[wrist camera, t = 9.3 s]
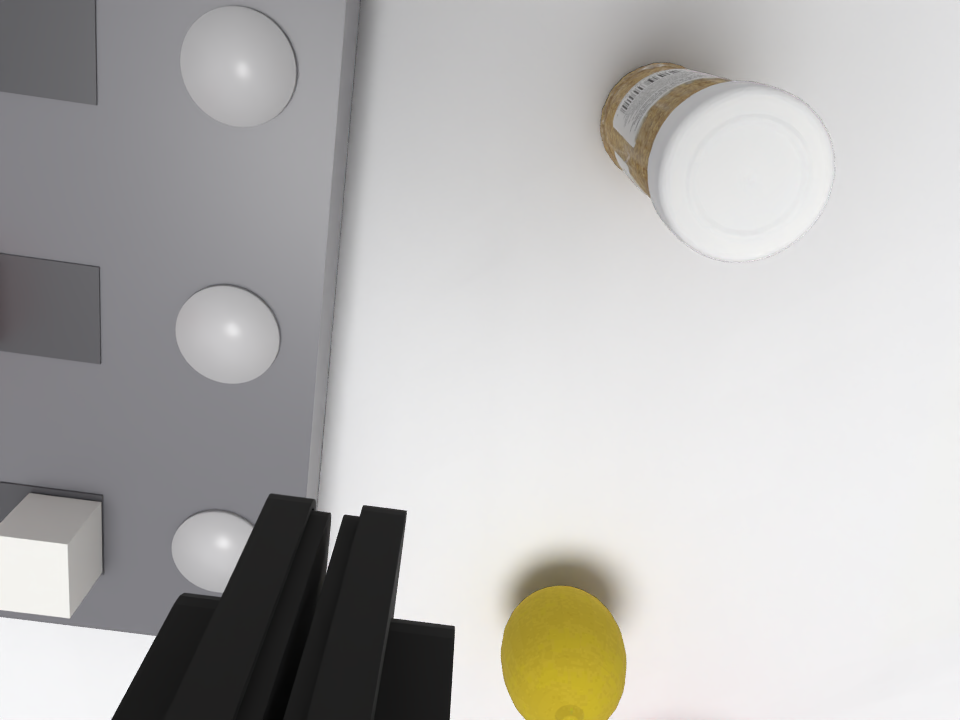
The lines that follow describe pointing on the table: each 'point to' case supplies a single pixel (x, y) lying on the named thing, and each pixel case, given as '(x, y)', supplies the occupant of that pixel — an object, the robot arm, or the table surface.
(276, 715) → the robot arm
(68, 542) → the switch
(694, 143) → the sprinkles bottle
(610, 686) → the lemon
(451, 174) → the table surface
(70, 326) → the switch panel
